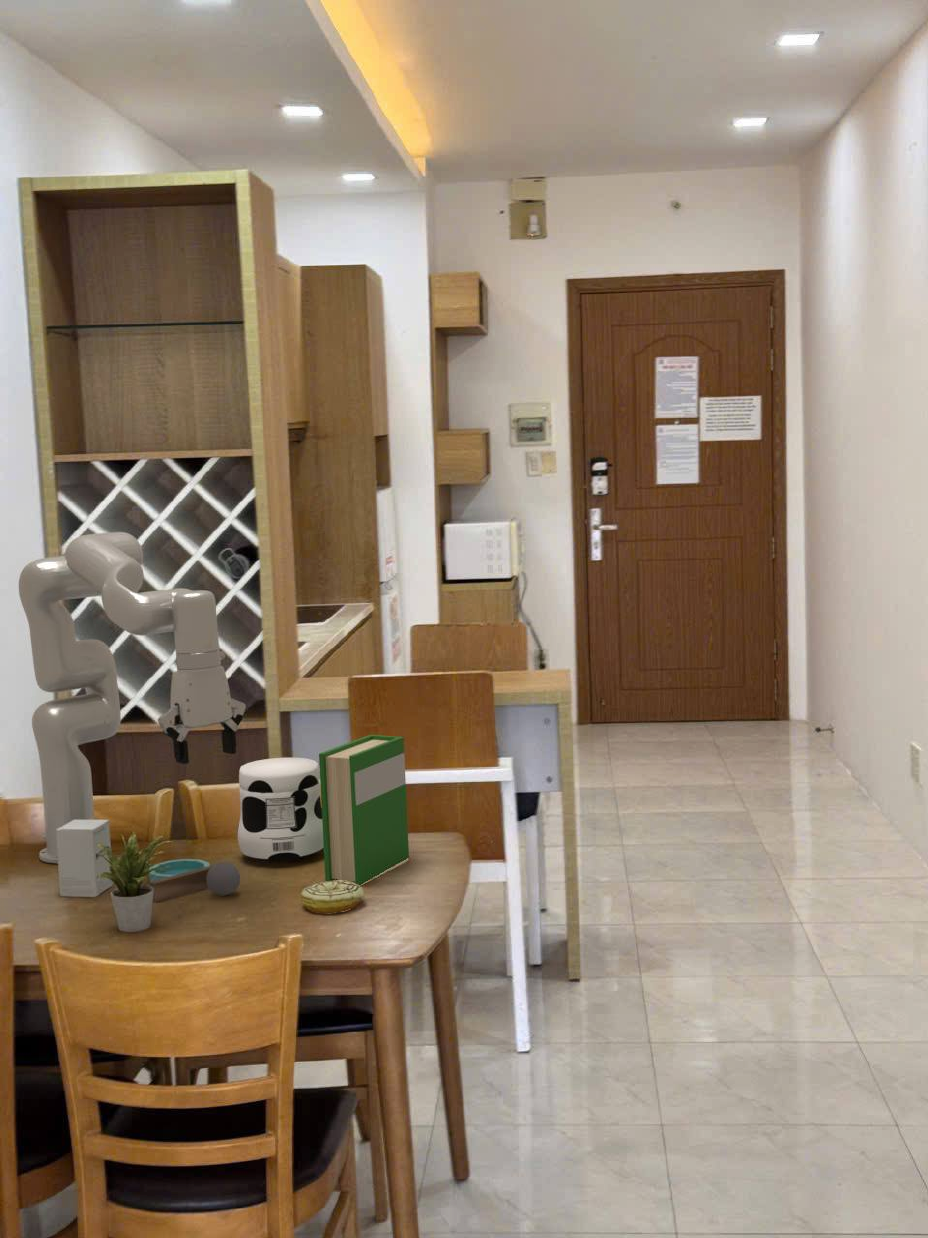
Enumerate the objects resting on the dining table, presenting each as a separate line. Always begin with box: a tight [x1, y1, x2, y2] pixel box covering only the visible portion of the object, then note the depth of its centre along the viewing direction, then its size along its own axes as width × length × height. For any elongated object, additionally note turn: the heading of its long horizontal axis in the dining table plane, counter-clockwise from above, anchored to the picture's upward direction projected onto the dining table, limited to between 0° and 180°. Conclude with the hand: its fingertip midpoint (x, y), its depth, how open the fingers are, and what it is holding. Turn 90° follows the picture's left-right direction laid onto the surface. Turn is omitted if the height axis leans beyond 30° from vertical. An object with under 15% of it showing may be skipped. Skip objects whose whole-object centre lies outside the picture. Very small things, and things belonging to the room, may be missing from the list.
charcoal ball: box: [206, 861, 241, 897], centre depth 259 cm, size 6×6×6 cm
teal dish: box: [148, 858, 210, 883], centre depth 270 cm, size 11×11×2 cm
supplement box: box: [56, 819, 114, 898], centre depth 265 cm, size 7×7×13 cm
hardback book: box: [318, 734, 410, 885], centre depth 269 cm, size 18×7×24 cm, turn 152°
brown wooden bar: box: [149, 864, 214, 904], centre depth 262 cm, size 2×15×4 cm, turn 133°
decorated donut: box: [301, 879, 366, 914], centre depth 251 cm, size 10×11×4 cm
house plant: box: [94, 829, 173, 933], centre depth 242 cm, size 14×14×16 cm
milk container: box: [236, 757, 324, 864], centre depth 282 cm, size 17×17×18 cm
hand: (206, 758), depth 255 cm, fingers open, 9 cm apart
